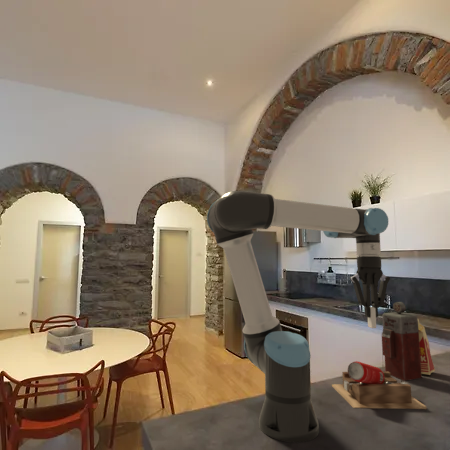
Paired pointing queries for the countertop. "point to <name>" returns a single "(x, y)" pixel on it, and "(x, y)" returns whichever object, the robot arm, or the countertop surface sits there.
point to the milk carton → (425, 352)
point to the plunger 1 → (349, 385)
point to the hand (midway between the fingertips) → (372, 327)
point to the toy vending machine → (401, 343)
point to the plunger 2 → (401, 382)
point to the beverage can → (365, 373)
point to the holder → (378, 394)
